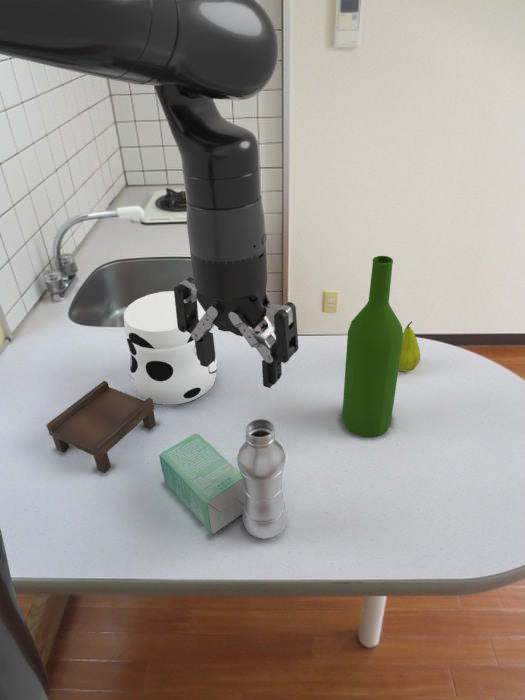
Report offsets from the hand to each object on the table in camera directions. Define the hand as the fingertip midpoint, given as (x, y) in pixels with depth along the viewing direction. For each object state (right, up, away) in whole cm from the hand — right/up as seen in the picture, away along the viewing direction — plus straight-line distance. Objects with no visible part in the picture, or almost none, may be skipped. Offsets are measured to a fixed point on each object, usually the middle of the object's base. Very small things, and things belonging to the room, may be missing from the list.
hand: (238, 372), depth 61 cm
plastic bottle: (+3, -24, +18) cm, 30 cm away
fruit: (+32, -1, +49) cm, 59 cm away
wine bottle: (+22, -11, +37) cm, 44 cm away
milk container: (-15, -5, +47) cm, 50 cm away
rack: (-26, -13, +35) cm, 46 cm away
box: (-6, -21, +23) cm, 32 cm away
